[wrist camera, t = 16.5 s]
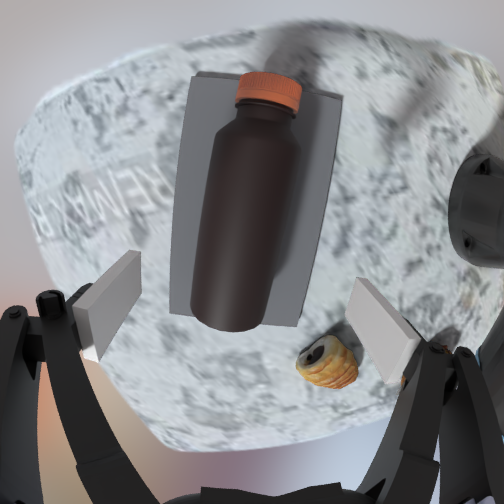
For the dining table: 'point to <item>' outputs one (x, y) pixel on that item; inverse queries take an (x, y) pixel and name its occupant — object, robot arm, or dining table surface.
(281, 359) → the dining table surface
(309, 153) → the mat
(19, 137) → the dining table surface
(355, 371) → the pastry
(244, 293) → the vinegar
